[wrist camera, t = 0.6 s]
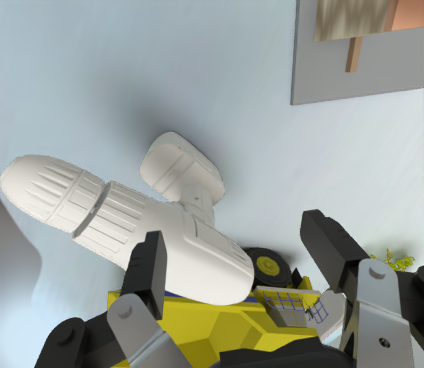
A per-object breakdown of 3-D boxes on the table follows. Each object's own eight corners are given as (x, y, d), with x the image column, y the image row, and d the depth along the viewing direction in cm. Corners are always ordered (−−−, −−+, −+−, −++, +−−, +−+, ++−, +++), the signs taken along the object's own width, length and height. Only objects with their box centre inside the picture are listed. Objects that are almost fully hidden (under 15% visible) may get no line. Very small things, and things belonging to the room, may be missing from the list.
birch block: (318, -2, 30) (409, -46, 18) (354, -6, 30) (469, -53, 18) (313, 42, 32) (391, 30, 20) (347, 38, 32) (444, 24, 20)
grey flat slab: (297, 323, 71) (310, 353, 64) (291, 322, 70) (303, 352, 63) (337, 285, 63) (357, 314, 56) (331, 283, 62) (350, 312, 55)
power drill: (127, 84, 33) (17, 127, 12) (235, 179, 43) (285, 300, 21) (96, 125, 36) (-44, 225, 14) (205, 207, 45) (221, 341, 24)
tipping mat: (302, -89, 26) (311, -100, 25) (481, -107, 27) (504, -120, 25) (290, 104, 37) (296, 106, 35) (419, 87, 38) (431, 88, 36)
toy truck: (129, 224, 46) (94, 323, 29) (299, 247, 54) (353, 335, 37) (120, 296, 56) (91, 401, 39) (264, 307, 65) (293, 397, 47)
